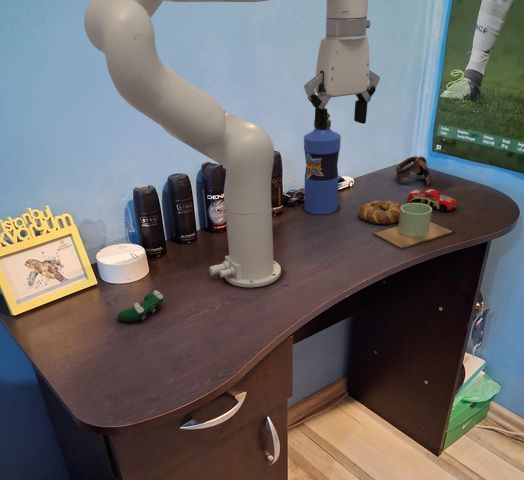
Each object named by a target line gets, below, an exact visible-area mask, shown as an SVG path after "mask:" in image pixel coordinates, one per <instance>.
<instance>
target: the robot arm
mask: <svg viewBox="0 0 524 480" xmlns="http://www.w3.org/2000/svg"><path fill="white" fill-rule="evenodd" d="M267 1H269V0H90V1H89V3H88V5H87V7H86V10H85V11H84V12H85V13H84V17H83V26H84V30H85V33H86V36H87V38H88V40H89V41H90V43H91V44H92V45H93V47H94V48H96V50H98V51H100V52H101V53H102V54H105V55H104V57H105V62H106V67H107V70H108V74H109V76H110V79H111V81H112V83H113V85H114V87H115V89H116V91H117V92H118V94H119V95H120V97H121V98H122V99H123V100H124V101H125V102H126V103H127V104H128V105H130V106H131V107H132V108H134V109H135V110H136V111H138V112H139V113H141V114H143V115H144V116H145V117H147V118H149V119H150V120H152V122H154V123H156V124H158V125H159V126H161V127H162V128H163V130H164V131H165V132H166V133H167V134H169V135H170V136H172V137H173V138H175V139H176V140H178V141H180V142H181V143H183V144H185V145H187V146H188V147H190V148H192V149H193V150H195V151H197V152H199V153H200V154H202V155H204V156H205V157H207V158H209V159H211V160H212V161H214V162H216V163H217V164H219V165H221V166H222V167H224V168H225V179H224V186H223V201H224V202H223V204H224V214H225V225H226V235H227V246H228V255H225V256H224V261H222V262H221V263H220V264H215V265H210V266H209V267H208V272H209V275H210V276H215V275H218V274H219V277H220V278H224V279H225V281H226V282H228V283H229V284H231V285H232V286H235V287H241V288H259V287H260V288H261V287H264V286H268V285H270V284H272V283H274V282H276V281H278V279H279V278H280V277H281V275H282V267H281V264H279V263H278V262H276V261H275V260H274V236H273V235H274V234H273V232H274V231H273V208H272V207H273V206H272V177H273V176H272V175H273V168H274V162H275V148H274V144H273V141H272V139H271V136H270V135H269V134H268V132H267V131H266V130H265V129H263V128H262V127H261V126H259V125H258V124H256V123H253V122H251V121H249V120H246V119H244V118H241V117H238V116H235V115H234V114H232V113H230V112H229V111H227V110H226V109H224V108H223V107H222V106H221V104H220V103H219V101H218V100H216V98H214V97H213V96H212V95H211V94H209V93H208V92H206V91H204V90H202V89H200V88H198V87H197V86H196V85H194V84H192V83H191V82H189V81H188V80H186V79H185V78H183V77H182V76H180V75H179V74H178V73H177V72H175V71H174V70H173V69H171V68H170V67H168V66H167V65H166V64H165V63H164V62H163V61H162V60H161V58H160V55H159V54H158V50H157V46H156V38H155V37H156V36H155V29H154V25H153V21H152V19H151V18H152V17H153V16H154V14H155V13H156V11H157V10H158V9H159V8H160V6H161V5H162V4H163V2H169V3H260V2H267ZM368 9H369V0H326V14H325V37H322V38H321V40H320V44H319V47H318V54H317V60H316V61H317V62H316V70H315V76H314V77H313V78H311V79H310V80H309V81H308V82H306V83H305V84H304V85H303V89H304V92H305V95H306V96H307V99H308V101H309V102H310V103H311V104H312V107H314V120H315V127H316V128H318V129H321V130H326V129H327V112H328V108H326V106H327V105H328V104H329V102H330V100H331V98H339V97H345V96H346V97H347V96H353V95H355V96H356V98H357V100H355V103H354V113H353V114H354V117H353V120H354V122H357V123H359V124H363V125H364V124H366V123H367V115H368V103H370V102H371V100H372V96H373V95H374V94H375V93H376V90H377V89H376V88H377V87H378V85H379V83H380V79H381V77H380V76H379V75H378V74H376V73H375V72H373V71H372V70H371V69H370V45H369V37H368V36H367V29H369V28H370V27H371V21H370V20H369V19H368Z"/></svg>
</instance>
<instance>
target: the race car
mask: <svg viewBox="0 0 524 480" xmlns="http://www.w3.org/2000/svg"><path fill="white" fill-rule="evenodd" d="M407 202H408V203H422V204H426V205H428V206H430V207H431V208H432V209H435V210H440V211H441V212H443V213H444V212H446V211H453V210H455V209H456V208H457V206H458V204H457V200H456V199H455V198H454V197H452V196H449V195H445V194H444V192H441V191H439V190H437V189H434V188H420V189H413V190H411V191H410V192H409V194H408V196H407Z"/></svg>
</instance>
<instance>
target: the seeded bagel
mask: <svg viewBox="0 0 524 480" xmlns="http://www.w3.org/2000/svg"><path fill="white" fill-rule="evenodd" d="M401 206H402V205H400V202H398V201H396V200H393V199H392V200H391V199H390V200H389V199H388V200H386V201H385V200H381V199H375V200H372V201H369V202H367V203H364V204H363V205H361V207H360V208H359V210H358V216H359V218H360V219H361V220H363V221H366V222H367V221H368V223H371V224H374V225H375V224H380V225H384V226H386V225H391V224H396V223H399V216H400V208H401Z"/></svg>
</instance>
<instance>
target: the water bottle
mask: <svg viewBox="0 0 524 480" xmlns="http://www.w3.org/2000/svg"><path fill="white" fill-rule="evenodd" d="M330 117H331V115H330V113H329V112H328V111H327V129H326V130H321V129H318V128H316V127H315V119H314V120H313V130H312V131H310V132H308V133H306V134H305V135H304V136H303V151H304V158H305V171H304V210H305V212H307V213H309V214H313V215H328V214H332V213H335V212H336V211H337V210H338V204H339V203H338V202H339V170H338V163H339V156H340V150H341V141H342V140H341V138H342V137H341V134H340V133H338V132H337V131H333V130H332V129H331V125H332V120H331V119H330Z"/></svg>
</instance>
